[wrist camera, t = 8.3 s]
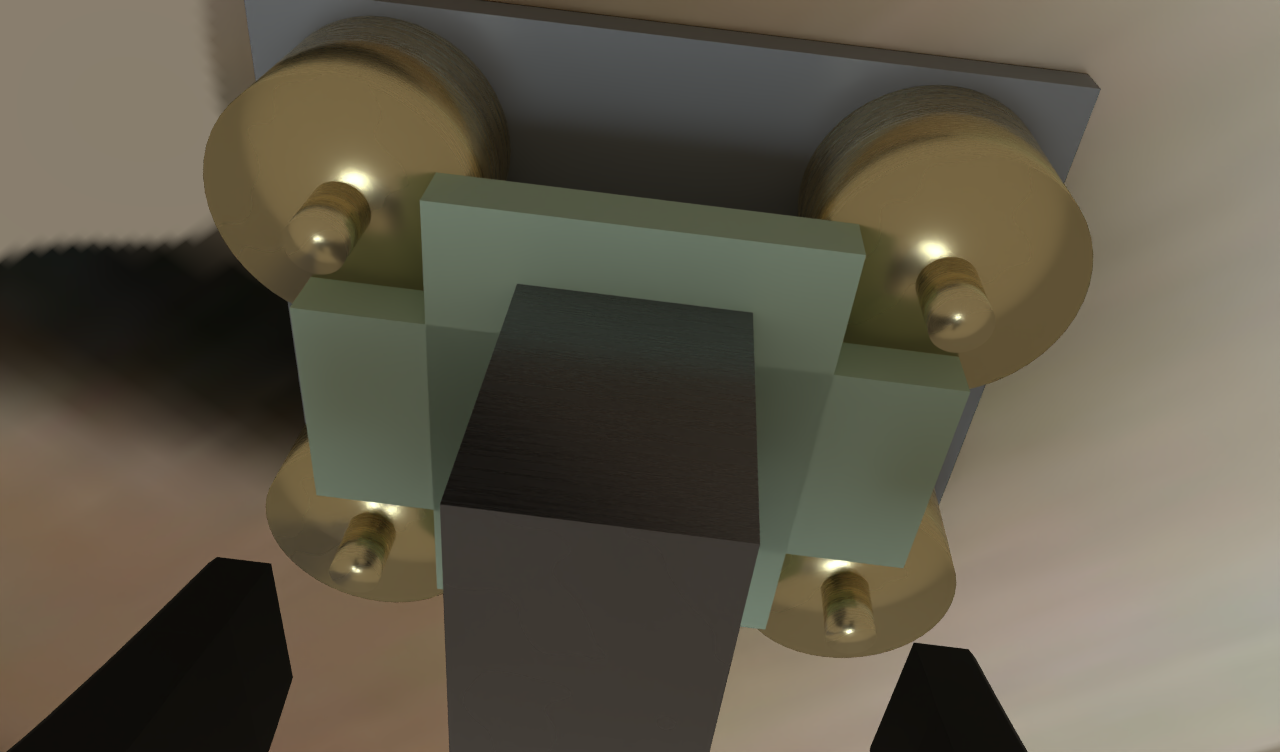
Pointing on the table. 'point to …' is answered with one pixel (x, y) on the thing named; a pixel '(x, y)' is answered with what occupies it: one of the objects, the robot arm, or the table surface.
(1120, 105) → the table surface
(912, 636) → the chassis
